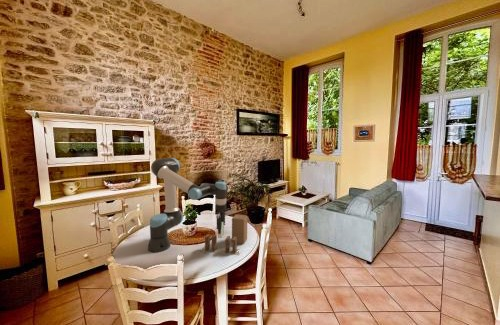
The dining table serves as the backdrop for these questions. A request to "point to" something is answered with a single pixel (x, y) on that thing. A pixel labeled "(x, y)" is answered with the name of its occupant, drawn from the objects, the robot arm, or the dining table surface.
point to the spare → (222, 229)
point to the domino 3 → (227, 244)
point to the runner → (220, 251)
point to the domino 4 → (234, 245)
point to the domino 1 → (207, 242)
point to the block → (239, 228)
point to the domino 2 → (214, 243)
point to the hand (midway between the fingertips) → (221, 235)
